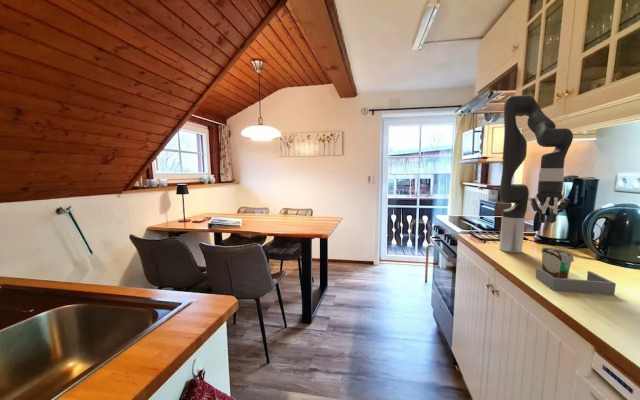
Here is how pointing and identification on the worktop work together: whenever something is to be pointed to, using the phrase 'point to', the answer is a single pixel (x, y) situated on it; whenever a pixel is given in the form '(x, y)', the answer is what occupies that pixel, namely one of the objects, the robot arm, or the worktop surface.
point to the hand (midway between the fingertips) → (546, 222)
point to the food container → (556, 262)
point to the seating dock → (578, 283)
